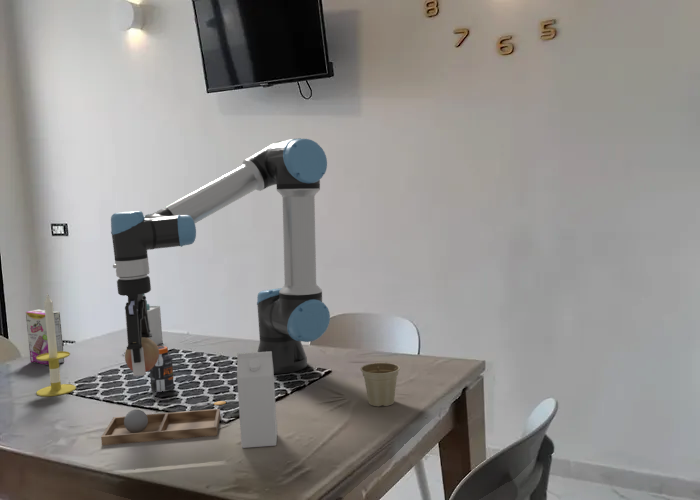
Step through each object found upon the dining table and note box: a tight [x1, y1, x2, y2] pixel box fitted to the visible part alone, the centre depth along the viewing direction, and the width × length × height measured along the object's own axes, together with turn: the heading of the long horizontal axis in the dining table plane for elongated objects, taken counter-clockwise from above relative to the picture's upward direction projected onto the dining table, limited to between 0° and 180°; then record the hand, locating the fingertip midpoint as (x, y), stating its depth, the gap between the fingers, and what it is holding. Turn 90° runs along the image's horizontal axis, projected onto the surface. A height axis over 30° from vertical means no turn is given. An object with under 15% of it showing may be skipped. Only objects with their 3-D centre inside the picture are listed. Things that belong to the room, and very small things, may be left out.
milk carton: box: [236, 351, 278, 449], centre depth 146 cm, size 7×7×19 cm
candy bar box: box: [25, 308, 65, 366], centre depth 221 cm, size 11×5×16 cm, turn 58°
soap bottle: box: [124, 293, 163, 346], centre depth 238 cm, size 9×9×19 cm
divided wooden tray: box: [100, 408, 221, 446], centre depth 155 cm, size 24×12×2 cm, turn 97°
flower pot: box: [360, 362, 401, 407], centre depth 168 cm, size 9×9×9 cm
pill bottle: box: [149, 345, 175, 393], centre depth 187 cm, size 6×6×11 cm
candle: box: [36, 292, 77, 398], centre depth 189 cm, size 10×10×27 cm
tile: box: [194, 400, 227, 407], centre depth 172 cm, size 10×7×1 cm
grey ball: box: [124, 409, 148, 433], centre depth 154 cm, size 5×5×5 cm
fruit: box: [124, 337, 159, 373], centre depth 169 cm, size 8×8×8 cm
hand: (142, 369), depth 169 cm, fingers closed on fruit, 8 cm apart
